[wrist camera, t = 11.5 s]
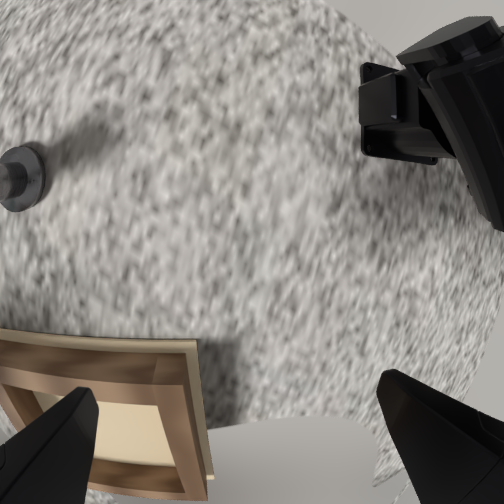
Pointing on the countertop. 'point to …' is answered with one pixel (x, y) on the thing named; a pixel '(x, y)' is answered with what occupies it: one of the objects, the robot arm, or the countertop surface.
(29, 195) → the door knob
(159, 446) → the cork mat
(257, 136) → the countertop surface
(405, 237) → the countertop surface
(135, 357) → the walnut frame
